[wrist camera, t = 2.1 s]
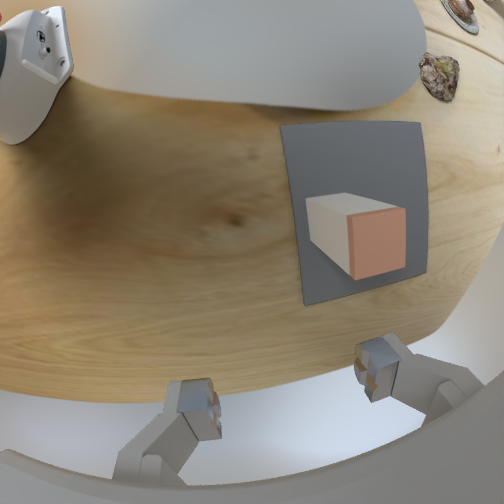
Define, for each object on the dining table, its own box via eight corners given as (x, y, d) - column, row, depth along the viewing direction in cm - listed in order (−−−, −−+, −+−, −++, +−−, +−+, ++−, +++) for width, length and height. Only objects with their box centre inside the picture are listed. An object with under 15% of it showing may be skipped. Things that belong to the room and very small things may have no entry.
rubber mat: (279, 126, 28) (280, 125, 27) (417, 122, 29) (420, 122, 28) (303, 303, 35) (304, 305, 34) (423, 271, 36) (426, 272, 35)
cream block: (305, 198, 30) (352, 217, 19) (344, 192, 30) (405, 208, 19) (310, 240, 32) (355, 280, 20) (348, 233, 32) (405, 267, 20)
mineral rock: (447, 112, 26) (429, 61, 22) (425, 108, 30) (406, 61, 26) (472, 87, 26) (456, 43, 21) (452, 84, 29) (436, 43, 25)
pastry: (424, -19, 20) (437, -27, 16) (458, -7, 20) (470, -13, 15) (453, 29, 24) (468, 23, 19) (482, 38, 24) (496, 34, 19)
